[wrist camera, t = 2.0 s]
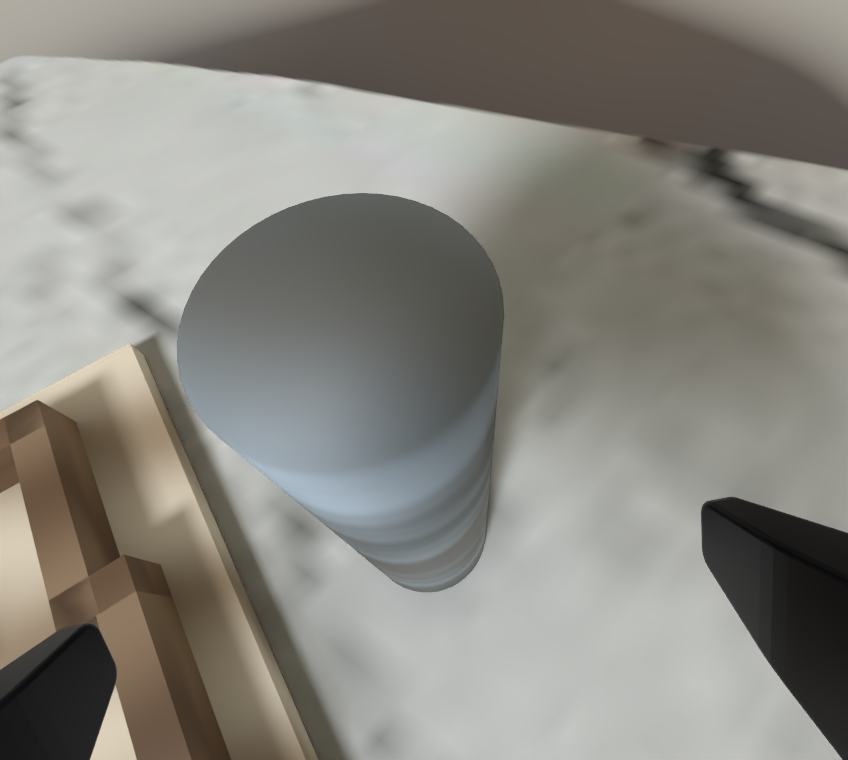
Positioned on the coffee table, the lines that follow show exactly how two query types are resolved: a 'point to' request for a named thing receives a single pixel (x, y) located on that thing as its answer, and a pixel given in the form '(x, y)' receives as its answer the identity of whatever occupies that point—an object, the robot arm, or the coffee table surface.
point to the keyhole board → (135, 571)
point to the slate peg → (358, 374)
